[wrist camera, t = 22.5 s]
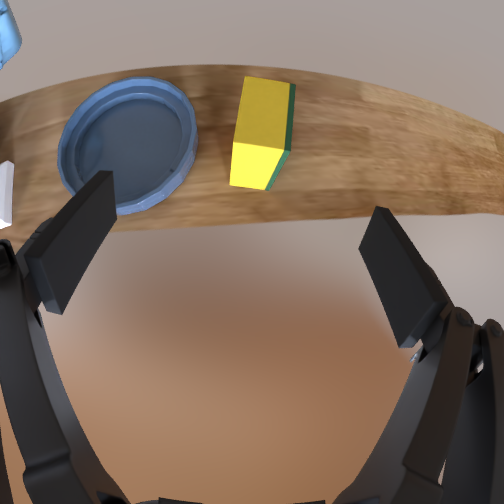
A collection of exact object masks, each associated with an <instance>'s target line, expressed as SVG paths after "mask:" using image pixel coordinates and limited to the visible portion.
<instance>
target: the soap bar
mask: <svg viewBox="0 0 504 504" xmlns="http://www.w3.org/2000/svg"><path fill="white" fill-rule="evenodd" d="M13 174H14V164H13V163H11V162H9V161H5V162H3V163H1V164H0V229H1V228H4V227H6V226H9V225H12V189H13Z"/></svg>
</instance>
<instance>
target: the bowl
mask: <svg viewBox="0 0 504 504" xmlns="http://www.w3.org/2000/svg"><path fill="white" fill-rule="evenodd" d="M198 141H199V139H198V132H197V126H196V119H195V112H194V108H193V106H192V105H191V103H190V101H189V100H188V98H187V96H186V95H185V93H184V92H183V91H181V90H180V89H179V88H177V87H176V86H175V85H173V84H172V83H170V82H168V81H165V80H162V79H158V78H155V77H129V78H125V79H122V80H118V81H115V82H112V83H110V84H108V85H106V86H104V87H102V88H101V89H99V90H97V91H96V92H94V93H92V94H91V95H90V96H89V97H88V98H87V99H86V100H85V101H84V102H83V103H81V104H80V105H79V106H78V107H77V108H76V110H75V111H74V113H73V114H72V116H71V117H70V119H69V120H68V122H67V123H66V125H65V127H64V130H63V133H62V136H61V139H60V142H59V145H58V160H57V166H58V169H59V173H60V176H61V180H62V183H63V185H64V186H65V187H66V188H67V190H68V191H69V192H70V193H71V195H72V196H74V195H75V194H76V193H77V192H78V191H79V190H80V189H81V188H82V187H83V186H84V185H85V184H86V183H87V182H88V181H89V180H90V179H91V178H92V177H93V176H94V175H95V174H96V173H97V172H98V171H99V170H105V171H113V177H114V191H115V203H116V213H117V215H126V214H130V213H135V212H139V211H144V210H146V209H148V208H150V207H152V206H153V205H155V204H157V203H159V202H161V201H162V200H164V199H166V198H167V197H168V196H169V195H170V194H171V193H172V192H173V191H174V190H175V189H176V188H177V187H178V186H179V185H180V184H181V183H182V182H183V181H184V179H185V177H186V175H187V173H188V172H189V170H190V168H191V166H192V164H193V163H194V161H195V156H196V151H197V146H198Z"/></svg>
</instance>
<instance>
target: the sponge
mask: <svg viewBox="0 0 504 504" xmlns="http://www.w3.org/2000/svg"><path fill="white" fill-rule="evenodd" d="M295 87H296V85H295V84H290V83H285V82H280V81H275V80H269V79H263V78H256V77H249V76H245V79H244V84H243V89H242V95H241V100H240V106H239V111H238V117H237V123H236V128H235V134H234V140H233V150H232V161H231V173H230V185H234V186H241V187H248V188H255V189H262V190H268V191H269V190H270V188H271V186H272V184H273V182H274V180H275V179H276V177H277V175H278V173H279V171H280V169H281V168H282V166H283V164H284V162H285V160H286V158H287V157H288V155H289V153H290V151H291V139H292V127H293V115H294V101H295Z"/></svg>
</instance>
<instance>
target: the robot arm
mask: <svg viewBox="0 0 504 504" xmlns="http://www.w3.org/2000/svg"><path fill="white" fill-rule="evenodd" d="M21 43H22V38H21V35H20V32H19V29H18V26H17V24H16V21H15V18H14V16H13V13H12V11H11V8H10V6H9V3H8V1H7V0H0V70H1V69H2V67H3V65H4V64H5V63H6V62H7V61H8V60H9V59H11V58H12V57H13V56H14V55H15V54H16V53H17V52H18V50H19V49H20V46H21ZM116 220H117V213H116V203H115V191H114V177H113V171H105V170H99V171H98V172H97V173H96V174H95V175H94V176H93V177H92V178H91V179H90V180H89V181H88V182H87V183H86V184H85V185H84V186H83V187H82V188H81V189H80V190H79V191H78V192H77V193H76V194H75V195H74V196H73V197H72V198H71V199H70V200H69V201H68V203H67V204H66V205H65V206H64V207H63V208H62V209H61V210H60V211H59V212H58V213H57V215H56V216H55V217H54V218H49V219H48V220H46V221H45V222H43V223H42V224H41V225H40V226H39V227H38V228H37V229H36V230H35V233H33V234H32V235H31V236H30V239H28V240H27V241H26V242H25V244H24V245H23V246H22V247H21V248H20V250H19V251H18V252H17V254H16V255H15V254H14V251H13V248H12V246H11V243H10V241H8V240H7V239H1V240H0V384H1V388H2V393H3V397H4V401H5V405H6V409H7V412H8V416H9V419H10V423H11V426H12V429H13V432H14V435H15V438H16V440H17V444H18V446H19V449H20V452H21V454H22V457H23V459H24V462H25V466H26V469H25V471H24V473H23V482H24V485H25V488H26V490H27V492H28V494H29V497H30V499H31V501H32V503H33V504H131V503H130V502H129V501H128V499H127V498H126V496H125V495H124V493H123V492H122V490H121V489H120V488H119V486H118V485H117V484H116V482H115V481H114V480H113V479H112V478H111V477H110V475H109V474H108V473H107V472H106V471H105V469H104V468H103V466H102V465H101V463H100V461H99V459H98V457H97V456H96V454H95V452H94V450H93V449H92V447H91V445H90V443H89V441H88V439H87V437H86V435H85V433H84V431H83V429H82V427H81V425H80V423H79V421H78V419H77V417H76V414H75V412H74V410H73V408H72V405H71V403H70V401H69V398H68V396H67V393H66V391H65V389H64V386H63V384H62V381H61V378H60V376H59V373H58V370H57V367H56V364H55V361H54V358H53V355H52V352H51V349H50V346H49V343H48V339H47V336H46V332H45V329H44V325H43V321H42V317H41V314H40V312H39V310H38V307H39V305H40V303H41V301H42V302H43V304H44V306H45V308H46V311H48V312H52V313H56V314H60V315H62V314H63V312H64V310H65V308H66V306H67V304H68V302H69V300H70V298H71V296H72V295H73V293H74V291H75V289H76V287H77V285H78V283H79V281H80V280H81V278H82V276H83V274H84V272H85V271H86V269H87V267H88V265H89V264H90V262H91V260H92V259H93V257H94V255H95V253H96V252H97V250H98V248H99V247H100V245H101V244H102V242H103V240H104V239H105V237H106V236H107V234H108V232H109V231H110V229H111V228H112V226H113V225H114V223H115V221H116ZM359 251H360V253H361V255H362V258H363V260H364V262H365V264H366V266H367V269H368V271H369V273H370V276H371V278H372V280H373V283H374V285H375V287H376V290H377V292H378V295H379V297H380V300H381V302H382V305H383V307H384V310H385V312H386V315H387V317H388V320H389V322H390V325H391V328H392V330H393V333H394V336H395V338H396V341H397V344H398V347H399V348H410V347H413V346H414V345H415V344H416V343H417V342H418V340H419V339H420V338H421V340H422V343H423V346H422V347H421V348H420V349H419V350H418V351H417V352H416V353H415V354H414V356H413V357H412V358H411V359H410V362H412V361H413V360H414V359H415V362H414V365H413V367H412V369H411V372H410V374H409V377H408V379H407V382H406V384H405V387H404V389H403V392H402V394H401V396H400V398H399V400H398V402H397V404H396V407H395V409H394V411H393V413H392V415H391V417H390V419H389V421H388V423H387V425H386V427H385V429H384V431H383V433H382V435H381V436H380V438H379V440H378V442H377V444H376V446H375V447H374V449H373V451H372V453H371V455H370V456H369V458H368V459H367V461H366V463H365V464H364V466H363V468H362V469H361V471H360V473H359V474H358V476H357V477H356V479H355V480H354V482H353V483H352V484H351V485H350V486H348V487H347V488H346V489H345V490H344V491H342V492H341V493H340V494H339V496H338V497H337V498H336V499H335V501H334V502H333V503H332V504H504V330H503V329H502V327H501V325H500V324H499V323H498V322H496V321H495V320H493V319H487V321H486V322H485V323H484V324H483V325H482V326H480V325H477V324H474V321H473V319H472V317H471V316H470V314H469V313H468V312H467V311H466V310H464V309H462V308H460V307H455V306H454V304H453V303H452V301H451V299H450V297H449V296H448V294H447V292H446V290H445V289H444V287H443V286H442V284H441V282H440V281H439V280H438V277H437V275H436V274H435V272H434V270H433V269H432V268H431V267H430V266H429V265H428V264H427V263H426V262H425V261H424V260H423V258H422V257H421V255H420V254H419V252H418V251H417V249H416V248H415V246H414V245H413V243H412V242H411V240H410V239H409V237H408V236H407V234H406V233H405V231H404V230H403V229H402V227H401V226H400V224H399V223H398V221H397V220H396V219H395V217H394V216H393V214H392V213H391V212H390V210H389V209H388V208H383V207H379V206H376V207H375V210H374V212H373V215H372V217H371V220H370V222H369V225H368V227H367V230H366V232H365V235H364V237H363V239H362V241H361V244H360V246H359ZM482 363H483V364H484V365H483V369H482V370H481V371H480V372H479V373H478V370H477V368H478V367H479V366H480V365H481V364H482ZM445 459H446V462H445ZM444 462H445V468H444V473H443V479H442V484H441V485H440V484H439V483H438V478H439V475H440V472H441V470H442V468H443V465H444ZM0 504H14V503H13V498H12V494H11V488H10V484H9V479H8V475H7V470H6V465H5V459H4V453H3V446H2V438H1V429H0ZM136 504H202V503H195V502H186V501H179V500H172V499H166V498H160V497H159V500H151V501H145V502H140V503H136ZM295 504H325V500H322V501H315V502H305V503H295Z"/></svg>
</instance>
